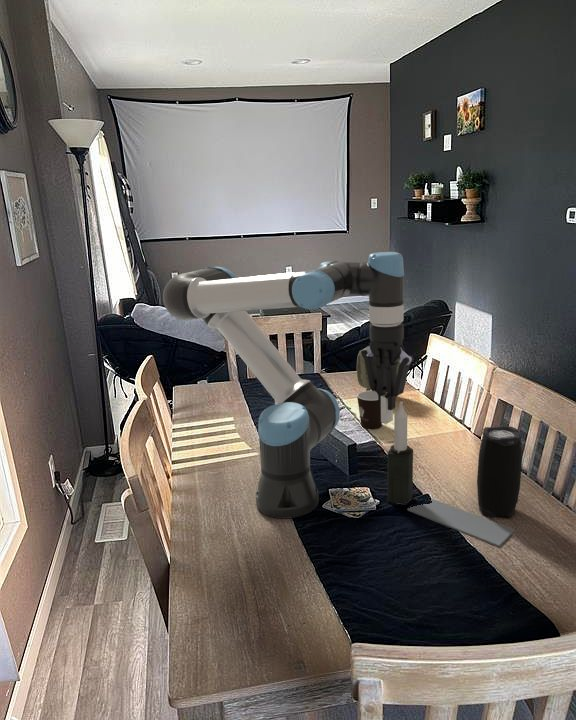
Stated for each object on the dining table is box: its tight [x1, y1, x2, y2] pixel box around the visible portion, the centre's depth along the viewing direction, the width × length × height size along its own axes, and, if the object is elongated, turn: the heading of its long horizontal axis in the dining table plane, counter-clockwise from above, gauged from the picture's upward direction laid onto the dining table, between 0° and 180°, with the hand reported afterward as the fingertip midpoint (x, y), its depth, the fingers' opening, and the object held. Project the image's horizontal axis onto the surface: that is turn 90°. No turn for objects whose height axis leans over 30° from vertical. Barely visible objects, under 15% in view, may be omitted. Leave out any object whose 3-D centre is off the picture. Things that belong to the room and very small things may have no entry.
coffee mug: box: [356, 390, 383, 431], centre depth 183 cm, size 12×9×10 cm
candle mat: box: [407, 498, 516, 548], centre depth 130 cm, size 8×22×1 cm, turn 46°
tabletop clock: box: [356, 345, 401, 397], centre depth 204 cm, size 14×9×25 cm, turn 58°
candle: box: [387, 400, 414, 504], centre depth 136 cm, size 5×5×25 cm
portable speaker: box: [476, 425, 523, 519], centre depth 131 cm, size 9×9×20 cm
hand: (386, 421), depth 137 cm, fingers closed
